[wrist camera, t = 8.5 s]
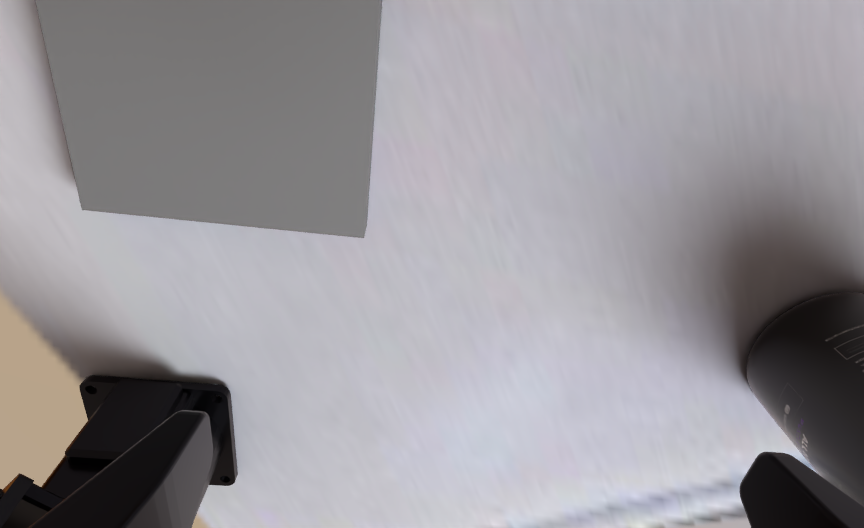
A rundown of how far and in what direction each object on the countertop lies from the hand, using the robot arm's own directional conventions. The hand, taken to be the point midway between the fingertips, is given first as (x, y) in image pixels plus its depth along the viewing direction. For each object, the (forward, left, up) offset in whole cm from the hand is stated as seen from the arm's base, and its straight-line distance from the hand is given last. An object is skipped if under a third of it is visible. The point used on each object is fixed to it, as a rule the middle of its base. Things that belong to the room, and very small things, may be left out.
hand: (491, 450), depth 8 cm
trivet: (+4, +8, -12) cm, 15 cm away
